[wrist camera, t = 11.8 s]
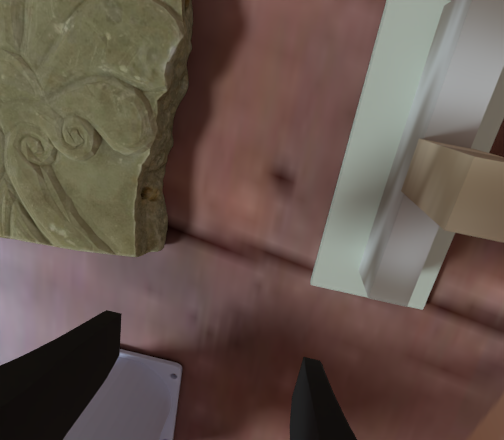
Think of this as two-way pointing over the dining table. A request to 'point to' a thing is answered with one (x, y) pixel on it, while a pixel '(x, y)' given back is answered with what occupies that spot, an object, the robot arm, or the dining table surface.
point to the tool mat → (387, 148)
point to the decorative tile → (89, 120)
